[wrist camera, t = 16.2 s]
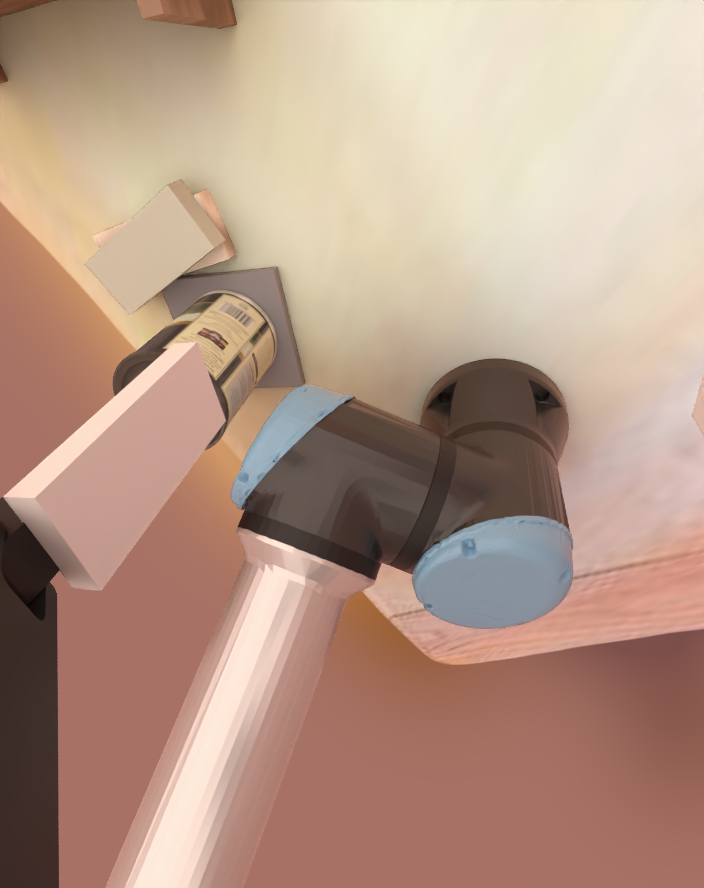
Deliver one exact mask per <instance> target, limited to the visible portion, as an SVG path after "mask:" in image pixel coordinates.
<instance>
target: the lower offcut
mask: <svg viewBox="0 0 704 888" xmlns="http://www.w3.org/2000/svg"><path fill="white" fill-rule="evenodd" d="M193 196H194V198H195V199H196V200H197V202H198V203H199V204H200V206H201V207H202V208H203V210H204V211H205V213H206V214H207V215H208V217H209V218H210V219H211V221H212V222H213V223H214V225H215V226H216V227H217V229H218V230H219V231H220V233H221V234H222V236H223V237H224V238H225V241H224V242H223V243H222V244H220V245H219V246H218V247H217V248H215V249H214V250H213V251H212V252H210V253H209V254H208V255H206V256H205V257H204V258H203V259H201V260H200V261H199V262H198V263H196V264H195V265H194V266H193V267H191V268H190V269H189V270H188V271H186V272H185V273H184V274H186V273H189V272H192V271H195V270H198V269H201V268H204V267H207V266H210V265H213V264H216V263H219V262H222V261H225V260H228V259H230V258H231V257H232V256H234V255H235V254H237V252H236V250H235V248H234V246H233V244H232V241H231V239H230V237H229V235H228V232H227V230H226V228H225V226H224V224H223V221H222V219H221V217H220V215H219V213H218V210H217V208H216V206H215V204H214V201H213V199H212V197H211V195H210V193H209V190H208V189H207V190H204V191H202V192H199V193H197V194H194V195H193ZM128 222H129V221H127V222H125V223H122V224H120V225H117V226H115V227H112V228H110V229H107V230H105V231H102V232H100V233H98V234H95V235H93V237H94V239H95V241H96V242H97V244H98V246H99V247H100V249H101V248H102V247H103V246H104V245H105V244H106V243H107V242H108V241H109V240H110V239H111V238H112V237H113V236H114V235H115V234H116V233H117V232H118V231H119V230H120V229H121V228H123V227H124V226H125V225H126V224H127V223H128Z"/></svg>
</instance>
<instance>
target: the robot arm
mask: <svg viewBox="0 0 704 888" xmlns="http://www.w3.org/2000/svg"><path fill="white" fill-rule="evenodd" d="M692 417H693V419H694V420H695V422H696V424H697V426H698V427H699V429H700V431H701V433H702V434H703V436H704V375H703V379H702V382H701V386H700V389H699V392H698V396H697V399H696V403H695V406H694V410H693V413H692ZM225 421H226V419H225V417H224V414H223V411H222V408H221V406H220V403H219V400H218V398H217V395H216V392H215V389H214V387H213V384H212V381H211V379H210V376H209V373H208V370H207V368H206V365H205V362H204V359H203V357H202V354H201V351H200V349H199V346H198V343H197V342H189V343H174V344H173V345H172V346H171V347H170V348H168V349H167V350H166V351H165V352H164V353H163V354H162V355H161V356H160V357H158V358H157V359H156V360H155V361H154V362H153V363H152V364H151V365H150V366H148V367H147V368H146V369H145V370H144V371H143V372H142V373H141V374H139V375H138V376H137V377H136V378H135V379H134V380H133V381H132V382H131V383H129V384H128V385H127V386H126V387H125V388H124V389H123V390H122V391H120V392H119V393H118V394H117V395H116V396H115V397H114V398H113V399H112V400H110V402H108V403H107V404H106V405H105V406H104V407H103V408H101V409H100V410H99V411H98V412H97V413H96V414H95V415H94V416H93V417H91V418H90V419H89V420H88V421H87V422H86V423H85V424H84V425H83V426H81V427H80V428H79V429H78V430H77V431H76V432H75V433H74V434H72V435H71V436H70V437H69V438H68V439H67V440H66V441H65V442H63V443H62V444H61V445H60V446H59V447H58V448H57V449H55V450H54V451H53V452H52V453H51V454H50V455H49V456H48V457H47V458H45V459H44V460H43V461H42V462H41V463H40V464H39V465H38V466H37V467H36V468H35V469H33V470H32V471H31V472H30V473H29V474H28V475H26V476H25V477H24V478H23V479H22V480H21V481H20V482H19V483H17V484H16V485H15V486H14V487H13V488H12V489H11V490H10V491H8V493H6V494H5V495H4V496H3V497H2V498H1V499H0V888H59V855H58V854H59V849H58V847H59V845H58V692H57V691H58V687H57V683H58V680H57V593H56V590H55V588H54V587H53V585H52V584H51V583H50V581H51V579H52V578H53V577H54V576H55V575H56V573H57V572H58V571H60V572H61V573H62V575H63V576H64V577H65V578H66V580H67V581H68V582H69V584H70V585H71V586H72V588H78V589H88V590H99V591H101V590H102V589H103V588H104V586H105V585H106V584H107V582H108V581H109V580H110V578H111V577H112V575H113V574H114V573H115V571H116V570H117V569H118V567H119V566H120V564H121V563H122V562H123V560H124V559H125V558H126V556H127V555H128V553H129V552H130V551H131V550H132V548H133V547H134V545H135V544H136V543H137V541H138V540H139V539H140V537H141V536H142V535H143V533H144V532H145V530H146V529H147V528H148V526H149V525H150V523H151V522H152V521H153V519H154V518H155V517H156V515H157V514H158V513H159V511H160V510H161V508H162V507H163V506H164V504H165V503H166V502H167V500H168V499H169V498H170V496H171V495H172V493H173V492H174V491H175V489H176V488H177V487H178V485H179V484H180V483H181V481H182V480H183V478H184V477H185V476H186V474H187V473H188V472H189V470H190V469H191V467H192V466H193V465H194V463H195V462H196V461H197V459H198V458H199V457H200V455H201V454H202V452H203V451H204V450H205V448H206V447H207V446H208V444H209V443H210V442H211V440H212V439H213V438H214V436H215V435H216V433H217V432H218V431H219V429H220V428H221V427H222V425H223V424H224V423H225ZM568 428H569V421H568V415H567V410H566V406H565V402H564V399H563V396H562V394H561V392H560V391H559V389H558V388H557V386H556V385H555V384H554V383H553V381H552V380H551V379H550V378H548V377H547V376H546V375H545V374H543V373H542V372H541V371H539V370H537V369H535V368H534V367H532V366H529V365H527V364H524V363H521V362H517V361H513V360H506V359H485V360H479V361H474V362H471V363H467V364H465V365H462V366H460V367H458V368H456V369H454V370H452V371H450V372H449V373H447V374H446V375H445V376H443V377H442V378H441V379H440V380H439V381H438V382H437V383H436V384H435V385H434V386H433V388H432V389H431V391H430V392H429V394H428V396H427V398H426V400H425V403H424V406H423V411H422V416H421V424H420V425H417V424H415V423H412V422H410V421H407V420H405V419H402V418H400V417H397V416H395V415H392V414H390V413H387V412H385V411H382V410H380V409H378V408H375V407H373V406H371V405H368V404H366V403H364V402H361V401H359V400H357V399H356V398H355V397H354V396H352V395H343V394H340V393H337V392H334V391H331V390H328V389H325V388H322V387H320V386H317V385H302V386H300V387H297V388H295V389H294V390H292V391H291V392H290V393H289V394H288V395H287V396H286V397H285V398H284V399H283V400H282V401H281V402H280V403H279V404H278V406H277V407H276V408H275V409H274V411H273V412H272V414H271V415H270V416H269V418H268V419H267V421H266V422H265V424H264V425H263V427H262V428H261V430H260V432H259V433H258V435H257V436H256V438H255V440H254V442H253V443H252V445H251V447H250V449H249V451H248V452H247V454H246V456H245V458H244V460H243V463H242V469H240V471H239V473H238V475H237V477H236V479H235V481H234V483H233V486H232V490H231V499H232V502H233V503H234V504H236V506H237V508H238V509H241V510H244V509H245V510H244V513H243V516H242V518H241V520H240V522H239V525H238V527H237V530H236V532H237V534H238V537H239V539H240V542H241V545H242V547H243V550H244V557H245V560H244V563H243V565H242V568H241V570H240V572H239V574H238V577H237V579H236V582H235V584H234V586H233V588H232V591H231V593H230V596H229V598H228V600H227V603H226V605H225V607H224V610H223V612H222V614H221V617H220V619H219V621H218V624H217V626H216V628H215V631H214V633H213V635H212V638H211V640H210V643H209V645H208V648H207V650H206V652H205V654H204V657H203V659H202V661H201V664H200V666H199V669H198V671H197V673H196V675H195V678H194V680H193V682H192V685H191V687H190V690H189V692H188V694H187V697H186V699H185V701H184V704H183V706H182V708H181V711H180V713H179V716H178V718H177V720H176V723H175V725H174V727H173V729H172V732H171V735H170V737H169V739H168V741H167V744H166V746H165V748H164V751H163V753H162V755H161V758H160V760H159V762H158V765H157V767H156V769H155V772H154V774H153V776H152V779H151V781H150V784H149V786H148V788H147V791H146V793H145V795H144V798H143V800H142V803H141V805H140V807H139V809H138V812H137V814H136V817H135V819H134V821H133V824H132V826H131V828H130V831H129V833H128V836H127V838H126V840H125V842H124V845H123V847H122V850H121V852H120V854H119V857H118V859H117V862H116V863H115V866H114V868H113V871H112V873H111V875H110V878H109V880H108V882H107V885H106V887H105V888H243V886H244V883H245V880H246V878H247V875H248V872H249V869H250V867H251V864H252V861H253V858H254V856H255V853H256V850H257V847H258V845H259V842H260V839H261V836H262V834H263V831H264V828H265V825H266V823H267V820H268V817H269V814H270V812H271V809H272V806H273V803H274V801H275V798H276V795H277V792H278V790H279V787H280V784H281V781H282V779H283V776H284V773H285V770H286V768H287V764H288V762H289V759H290V757H291V754H292V751H293V748H294V746H295V743H296V740H297V737H298V735H299V732H300V729H301V726H302V724H303V721H304V718H305V715H306V712H307V710H308V707H309V704H310V701H311V699H312V696H313V693H314V690H315V687H316V685H317V682H318V679H319V677H320V674H321V671H322V668H323V666H324V663H325V660H326V657H327V654H328V652H329V649H330V646H331V644H332V641H333V638H334V635H335V633H336V630H337V627H338V624H339V622H340V619H341V616H342V613H343V611H344V608H345V605H346V602H347V600H348V599H349V598H350V597H351V596H352V595H354V594H356V593H358V592H360V591H362V590H364V589H366V588H368V587H370V586H372V585H374V583H375V580H376V577H377V574H378V571H379V569H380V566H381V564H382V563H384V564H387V565H390V566H392V567H395V568H397V569H400V570H402V571H405V572H407V573H410V574H412V575H413V576H412V582H413V583H412V584H413V586H414V590H415V594H416V597H417V599H418V600H419V601H420V602H421V603H424V608H425V609H426V610H427V611H428V612H430V613H431V614H432V615H434V616H436V617H438V618H440V619H442V620H444V621H446V622H449V623H452V624H455V625H459V626H464V627H470V628H480V629H495V628H505V627H508V626H515V625H521V624H524V623H528V622H530V621H533V620H536V619H538V618H540V617H542V616H544V615H545V614H547V613H549V612H550V611H551V610H553V609H554V608H555V607H556V606H558V605H559V604H560V603H561V601H562V600H563V599H564V598H565V596H566V595H567V593H568V591H569V589H570V587H571V584H572V580H573V563H572V549H573V539H572V537H571V534H570V530H569V525H568V519H567V514H566V509H565V504H564V499H563V494H562V488H561V483H560V478H559V473H558V468H557V465H558V462H559V459H560V457H561V454H562V451H563V449H564V446H565V444H566V441H567V437H568Z"/></svg>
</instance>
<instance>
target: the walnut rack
mask: <svg viewBox="0 0 704 888" xmlns="http://www.w3.org/2000/svg"><path fill="white" fill-rule="evenodd" d="M52 1H56V0H0V17H1V16H4V15H8V14H11V13H15V12H18V11H21V10H25V9H28V8H32V7H35V6H39V5H42V4H45V3H49V2H52ZM136 1H137V4H138V7H139V11H140V14H141V17H142V19H146V20H154V21H162V22H170V23H178V24H186V25H194V26H202V27H210V28H218V29H220V28H224V27H228V26H232V25H236V24H237V22H236V18H235V13H234V9H233V4H232V0H136ZM5 81H8V80H7V78H6V76H5V74H4V72H3V69H2V67H1V65H0V83H1V82H5Z"/></svg>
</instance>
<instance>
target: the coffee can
mask: <svg viewBox="0 0 704 888" xmlns="http://www.w3.org/2000/svg"><path fill="white" fill-rule="evenodd" d="M189 342H197V343H198V346H199V349H200V351H201V354H202V357H203V359H204V362H205V365H206V368H207V370H208V373H209V376H210V379H211V381H212V384H213V387H214V389H215V392H216V395H217V398H218V400H219V403H220V406H221V408H222V411H223V414H224V417H225V419H226V421H225V423H224V424H223V425H222V427H221V428H220V429H219V431H218V432H217V433H216V435H215V436H214V438H213V439H212V440H211V442H210V443H209V444H208V446H207V447H206V448H205V450H207V449H209V448H211V447H212V446H214V445H215V444H216V443H217V442H218V441H219V440H220V439H221V437H222V436H223V434H224V432H225V430H226V427H227V426H228V425H229V423H230V422H231V420H232V419H233V417H234V416H235V415H236V413H237V412H238V410H239V409H240V407H241V406H242V405H243V403H244V402H245V400H246V399H247V397H248V396H249V395H250V393H251V392H252V390H253V389H254V387H255V386H256V385H257V383H258V382H259V380H260V379H261V377H262V376H263V375H264V373H265V372H266V370H267V369H268V368H269V367H270V366H271V365H272V363H273V361H274V359H275V357H276V353H277V345H278V341H277V336H276V332H275V329H274V326H273V324H272V322H271V320H270V319H269V317H268V316H267V314H266V313H265V312H264V310H263V309H262V308H261V307H259V306H258V305H257V304H256V303H255V302H254V301H252V300H251V299H249V298H248V297H246V296H244V295H242V294H239V293H236V292H232V291H229V290H216V291H211V292H208V293H206V294H204V295H202V296H201V297H199V298H198V299H197V300H196V301H195V302H194V303H193V304H192V305H191V306H190V307H189V308H188V309H186V310H185V311H184V312H183V313H182V314H180V315H179V316H178V317H177V318H176V319H175V320H173V321H172V322H171V323H170V324H169V325H167V326H166V327H165V328H164V329H163V330H161V331H160V332H159V333H158V334H157V335H155V336H154V337H153V338H152V339H151V340H149V341H148V342H147V343H146V344H145V345H143V346H142V347H141V348H140V349H139V350H137V351H136V352H134V353H132V354H130V355H129V356H127V357H126V358H125V359H123V360H122V361H121V363H120V364H119V365H118V366H117V368H116V370H115V373H114V376H113V390H114V395H115V396H116V395H117V394H118V393H119V392H120V391H122V390H123V389H124V388H125V387H126V386H127V385H128V384H129V383H131V382H132V381H133V380H134V379H135V378H136V377H137V376H138V375H139V374H141V373H142V372H143V371H144V370H145V369H146V368H147V367H148V366H150V365H151V364H152V363H153V362H154V361H155V360H156V359H157V358H158V357H160V356H161V355H162V354H163V353H164V352H165V351H166V350H167V349H168V348H170V347H171V346H172V345H173V344H174V343H189Z"/></svg>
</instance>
